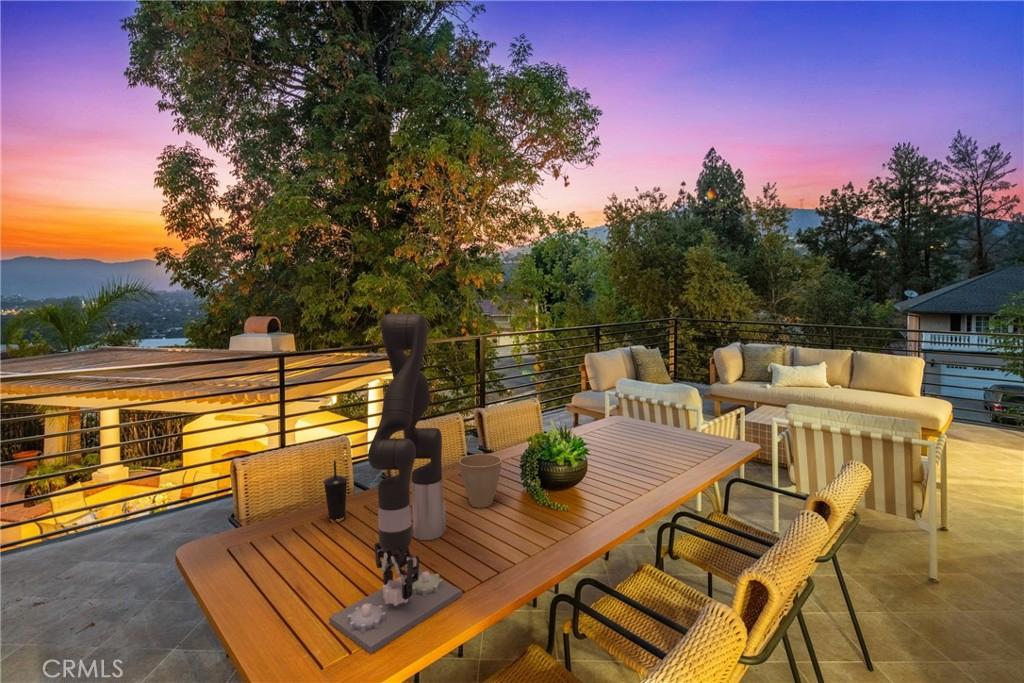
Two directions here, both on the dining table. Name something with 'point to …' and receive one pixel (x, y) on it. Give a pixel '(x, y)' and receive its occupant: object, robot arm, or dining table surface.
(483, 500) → the plant pot
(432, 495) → the robot arm
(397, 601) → the gear
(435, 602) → the gear board
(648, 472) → the dining table surface
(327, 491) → the drinking cup
